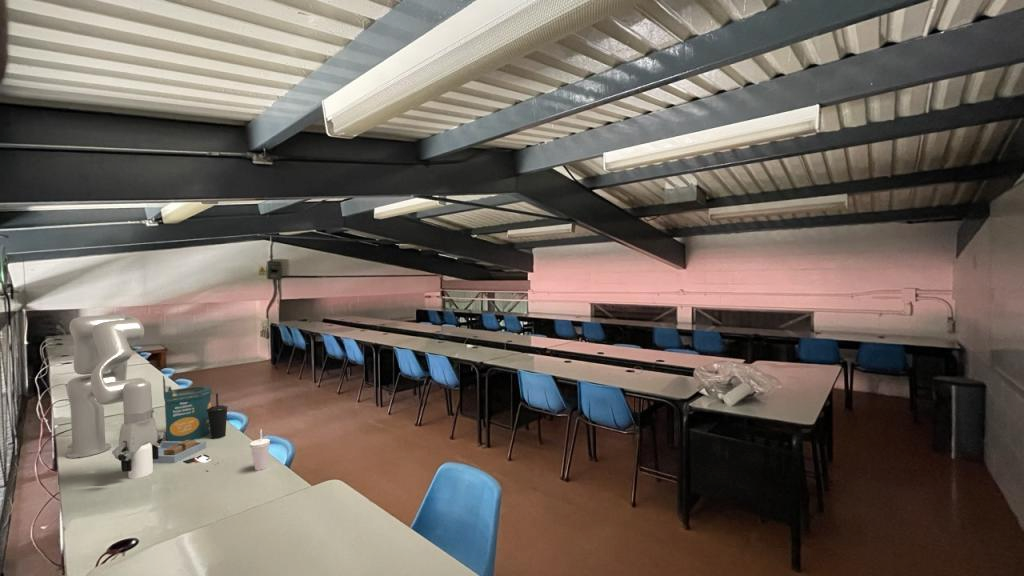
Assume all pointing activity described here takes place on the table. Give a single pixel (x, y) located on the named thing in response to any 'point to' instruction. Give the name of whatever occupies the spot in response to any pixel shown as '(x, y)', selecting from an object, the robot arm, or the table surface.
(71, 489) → the table surface
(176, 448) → the walnut block
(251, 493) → the table surface
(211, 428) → the drinking cup
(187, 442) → the walnut block
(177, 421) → the donation box
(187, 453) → the tray
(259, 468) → the smoothie
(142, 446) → the can
